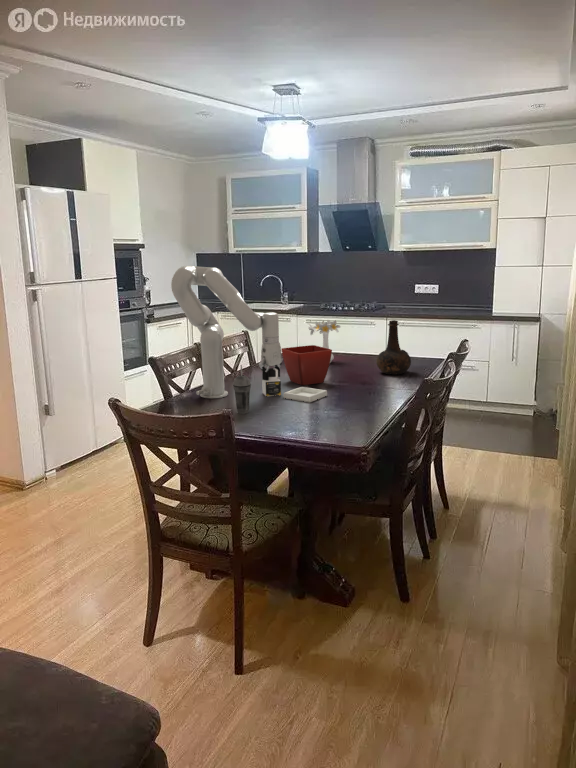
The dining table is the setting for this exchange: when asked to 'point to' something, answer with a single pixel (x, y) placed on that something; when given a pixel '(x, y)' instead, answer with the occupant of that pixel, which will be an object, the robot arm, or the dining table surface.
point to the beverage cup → (242, 393)
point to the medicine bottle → (272, 383)
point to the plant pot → (307, 363)
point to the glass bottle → (393, 354)
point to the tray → (305, 394)
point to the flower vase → (325, 331)
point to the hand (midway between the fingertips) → (271, 378)
